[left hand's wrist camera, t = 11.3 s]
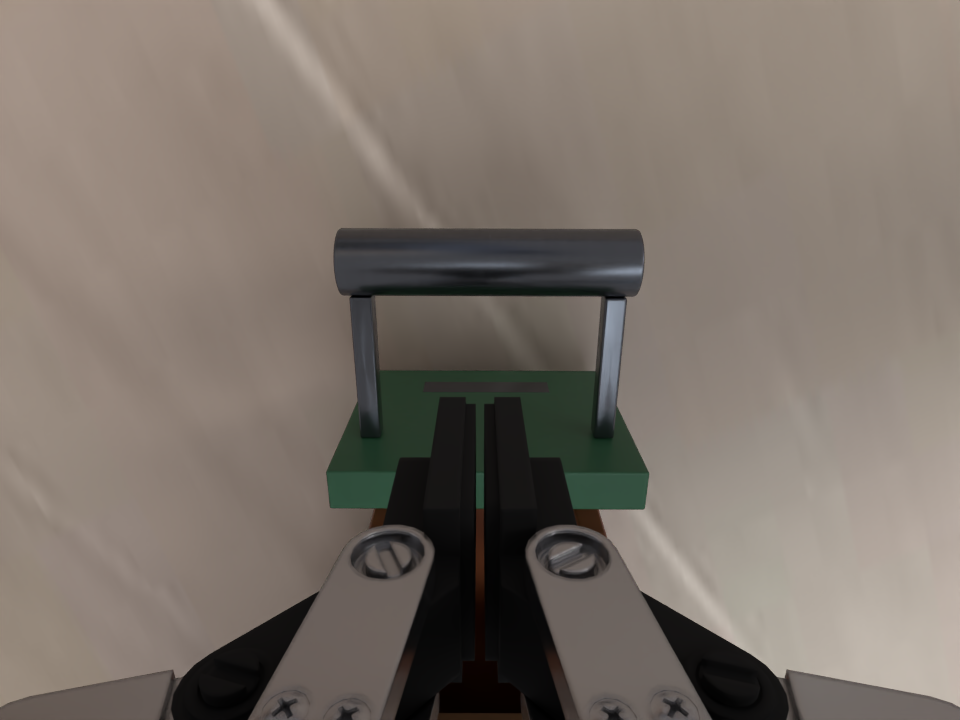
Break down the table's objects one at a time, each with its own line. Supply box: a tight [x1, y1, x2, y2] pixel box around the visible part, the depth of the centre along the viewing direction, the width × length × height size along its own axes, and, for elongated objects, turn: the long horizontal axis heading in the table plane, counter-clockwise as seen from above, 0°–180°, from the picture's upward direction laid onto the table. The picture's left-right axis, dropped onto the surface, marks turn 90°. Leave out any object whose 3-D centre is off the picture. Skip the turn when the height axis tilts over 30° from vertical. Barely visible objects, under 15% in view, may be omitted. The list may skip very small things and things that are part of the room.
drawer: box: [326, 228, 649, 713], centre depth 22 cm, size 24×9×7 cm, turn 0°
